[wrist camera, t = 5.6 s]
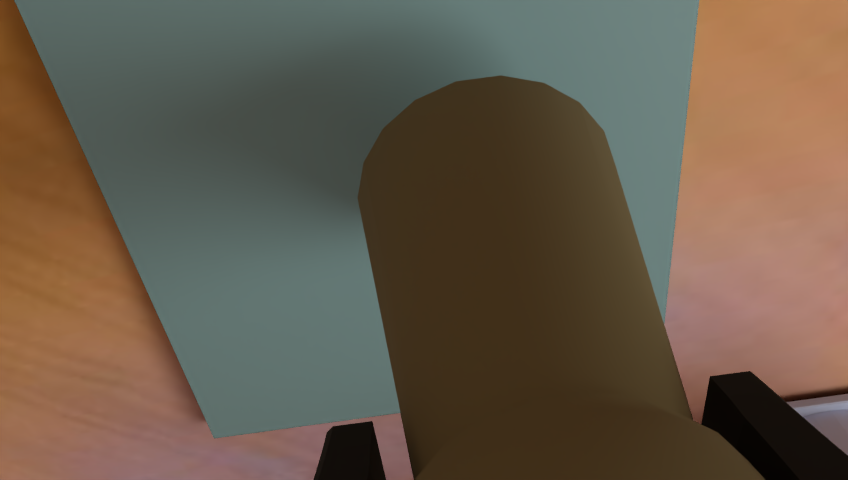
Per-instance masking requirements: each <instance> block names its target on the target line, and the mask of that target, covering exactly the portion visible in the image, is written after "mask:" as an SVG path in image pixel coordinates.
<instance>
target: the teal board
mask: <svg viewBox="0 0 848 480" xmlns="http://www.w3.org/2000/svg"><path fill="white" fill-rule="evenodd" d="M14 1H15V3H16V5H17V7H18V9H19V12H20V14H21V16H22V18H23V20H24V23H25V25H26V27H27V29H28V31H29V33H30V36H31V38H32V40H33V42H34V44H35V47H36V49H37V51H38V53H39V55H40V58H41V60H42V62H43V64H44V66H45V69H46V71H47V73H48V75H49V77H50V80H51V82H52V84H53V86H54V88H55V91H56V93H57V95H58V97H59V99H60V101H61V104H62V106H63V108H64V110H65V112H66V115H67V117H68V119H69V121H70V123H71V126H72V128H73V130H74V132H75V134H76V137H77V139H78V141H79V143H80V145H81V148H82V150H83V152H84V154H85V156H86V158H87V161H88V163H89V165H90V167H91V169H92V172H93V174H94V176H95V178H96V180H97V183H98V185H99V187H100V189H101V191H102V194H103V196H104V198H105V200H106V202H107V205H108V207H109V209H110V211H111V213H112V216H113V218H114V220H115V222H116V224H117V226H118V229H119V231H120V233H121V235H122V237H123V240H124V242H125V244H126V246H127V248H128V251H129V253H130V255H131V257H132V259H133V262H134V264H135V266H136V268H137V270H138V273H139V275H140V277H141V279H142V281H143V284H144V286H145V288H146V290H147V292H148V294H149V297H150V299H151V301H152V303H153V305H154V308H155V310H156V312H157V314H158V316H159V319H160V321H161V323H162V325H163V327H164V330H165V332H166V334H167V336H168V338H169V341H170V343H171V345H172V347H173V349H174V351H175V354H176V356H177V358H178V360H179V362H180V365H181V367H182V369H183V371H184V373H185V376H186V378H187V380H188V382H189V384H190V387H191V389H192V391H193V393H194V395H195V398H196V400H197V402H198V404H199V406H200V409H201V411H202V413H203V415H204V417H205V419H206V422H207V424H208V426H209V428H210V430H211V433H212V435H213V437H214V438H221V437H228V436H235V435H243V434H250V433H257V432H264V431H272V430H279V429H286V428H293V427H301V426H308V425H315V424H322V423H330V422H337V421H344V420H352V419H359V418H366V417H373V416H381V415H388V414H395V413H400V408H399V403H398V398H397V393H396V388H395V383H394V378H393V373H392V368H391V363H390V358H389V353H388V348H387V343H386V338H385V333H384V328H383V323H382V318H381V313H380V308H379V303H378V298H377V293H376V288H375V283H374V278H373V273H372V268H371V263H370V258H369V253H368V248H367V243H366V238H365V233H364V228H363V223H362V218H361V213H360V208H359V203H358V192H359V186H360V180H361V174H362V168H363V162H364V161H365V159H366V157H367V155H368V154H369V152H370V150H371V148H372V147H373V145H374V143H375V141H376V140H377V138H378V136H379V134H380V133H381V131H382V129H383V128H384V127H385V126H386V125H387V124H388V123H390V122H391V121H392V120H393V119H394V118H395V117H396V116H397V115H399V114H400V113H401V112H402V111H403V110H404V109H405V108H406V107H408V106H409V105H410V104H411V103H412V102H413V101H414V100H416V99H418V98H420V97H423V96H425V95H427V94H429V93H431V92H434V91H436V90H438V89H440V88H442V87H445V86H447V85H449V84H451V83H453V82H456V81H462V80H470V79H477V78H485V77H492V76H500V75H502V76H508V77H513V78H519V79H525V80H531V81H536V82H542V83H545V84H547V85H549V86H551V87H553V88H554V89H556V90H558V91H560V92H562V93H564V94H565V95H567V96H569V97H571V98H573V99H575V100H576V101H578V102H580V103H581V104H582V106H583V107H584V108H585V109H586V110H587V111H588V113H589V114H590V115H591V116H592V117H593V118H594V120H595V121H596V122H597V123H598V124H599V125H600V127H601V128H602V129H603V130H604V132H605V135H606V138H607V141H608V144H609V147H610V150H611V153H612V156H613V159H614V162H615V165H616V169H617V172H618V175H619V178H620V182H621V185H622V188H623V192H624V195H625V198H626V201H627V205H628V208H629V211H630V214H631V218H632V221H633V224H634V228H635V231H636V234H637V237H638V241H639V244H640V247H641V251H642V254H643V257H644V260H645V264H646V267H647V270H648V273H649V277H650V280H651V283H652V287H653V290H654V293H655V296H656V300H657V303H658V306H659V309H660V313H661V316H662V319H663V323H664V322H665V313H666V303H667V294H668V285H669V275H670V266H671V257H672V247H673V238H674V229H675V220H676V210H677V201H678V192H679V182H680V173H681V164H682V154H683V145H684V136H685V126H686V117H687V108H688V98H689V89H690V80H691V71H692V61H693V52H694V43H695V33H696V24H697V15H698V5H699V0H14Z"/></svg>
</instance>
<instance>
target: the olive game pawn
mask: <svg viewBox="0 0 848 480" xmlns="http://www.w3.org/2000/svg"><path fill="white" fill-rule="evenodd" d="M358 203H359V208H360V213H361V218H362V223H363V228H364V233H365V238H366V243H367V248H368V253H369V258H370V263H371V268H372V273H373V278H374V283H375V288H376V293H377V298H378V303H379V308H380V313H381V318H382V323H383V328H384V333H385V338H386V343H387V348H388V353H389V358H390V363H391V368H392V373H393V378H394V383H395V388H396V393H397V398H398V403H399V408H400V413H401V418H402V423H403V428H404V433H405V438H406V443H407V448H408V453H409V457H410V462H411V467H412V472H413V477H414V480H765V479H764V478H763V476H762V475H761V474H760V473H759V472H758V471H757V470H756V469H755V468H754V467H753V466H752V465H751V463H750V462H749V461H748V460H747V459H746V458H745V457H744V456H743V455H741V454H740V453H739V452H738V451H737V450H736V449H735V448H734V447H733V446H732V445H731V444H730V443H729V442H728V441H726V440H725V439H724V438H723V437H722V436H721V435H720V434H719V433H718V432H716V431H714V430H712V429H710V428H708V427H706V426H703V425H701V424H699V423H697V422H695V421H693V418H692V414H691V411H690V408H689V404H688V401H687V398H686V395H685V391H684V388H683V385H682V382H681V378H680V375H679V372H678V368H677V365H676V362H675V359H674V355H673V352H672V349H671V346H670V342H669V339H668V336H667V332H666V329H665V326H664V323H663V319H662V316H661V313H660V309H659V306H658V303H657V300H656V296H655V293H654V290H653V287H652V283H651V280H650V277H649V273H648V270H647V267H646V264H645V260H644V257H643V254H642V251H641V247H640V244H639V241H638V237H637V234H636V231H635V228H634V224H633V221H632V218H631V214H630V211H629V208H628V205H627V201H626V198H625V195H624V192H623V188H622V185H621V182H620V178H619V175H618V172H617V169H616V165H615V162H614V159H613V156H612V153H611V150H610V147H609V144H608V141H607V138H606V135H605V132H604V130H603V129H602V128H601V127H600V125H599V124H598V123H597V122H596V121H595V120H594V118H593V117H592V116H591V115H590V114H589V113H588V111H587V110H586V109H585V108H584V107H583V106H582V104H581V103H580V102H578V101H576V100H575V99H573V98H571V97H569V96H567V95H565V94H564V93H562V92H560V91H558V90H556V89H554V88H553V87H551V86H549V85H547V84H545V83H542V82H536V81H531V80H525V79H519V78H513V77H508V76H502V75H500V76H492V77H485V78H477V79H470V80H462V81H456V82H453V83H451V84H449V85H447V86H445V87H442V88H440V89H438V90H436V91H434V92H431V93H429V94H427V95H425V96H423V97H420V98H418V99H416V100H414V101H413V102H412V103H411V104H410V105H409V106H408V107H406V108H405V109H404V110H403V111H402V112H401V113H400V114H399V115H397V116H396V117H395V118H394V119H393V120H392V121H391V122H390V123H388V124H387V125H386V126H385V127H384V128H383V129H382V131H381V133H380V134H379V136H378V138H377V140H376V141H375V143H374V145H373V147H372V148H371V150H370V152H369V154H368V155H367V157H366V159H365V161H364V162H363V168H362V174H361V180H360V186H359V192H358Z"/></svg>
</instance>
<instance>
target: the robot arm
mask: <svg viewBox="0 0 848 480" xmlns="http://www.w3.org/2000/svg"><path fill="white" fill-rule="evenodd" d="M701 425H703V426H706V427H708V428H710V429H712V430H714V431H716V432H718V433H719V434H720V435H721V436H722V437H723V438H724V439H725V440H726V441H728V442H729V443H730V444H731V445H732V446H733V447H734V448H735V449H736V450H737V451H738V452H739V453H740V454H741V455H743V456H744V457H745V458H746V459H747V460H748V461H749V462H750V463H751V465H752V466H753V467H754V468H755V469H756V470H757V471H758V472H759V473H760V474H761V475H762V476H763V478H764V479H765V480H848V394H842V395H835V396H828V397H820V398H813V399H806V400H798V401H791V402H785V401H784V400H783V399H782V398H781V397H780V396H778V395H777V394H776V393H775V392H774V391H773V390H772V389H770V388H769V387H768V386H767V385H766V384H765V383H763V382H762V381H761V380H760V379H759V378H758V377H756V376H755V375H754V374H753V373H752V372H750V371H748V372H740V373H733V374H725V375H717V376H710V379H709V385H708V391H707V396H706V402H705V407H704V413H703V418H702V424H701ZM314 480H386V478H385V473H384V469H383V465H382V461H381V456H380V452H379V448H378V444H377V439H376V435H375V431H374V427H373V422H372V421H371V422H363V423H355V424H348V425H340V426H333V427H332V428H331V429H330V430H329V431H328V432H327V434H326V438H325V442H324V446H323V450H322V454H321V457H320V460H319V464H318V467H317V470H316V474H315V477H314Z"/></svg>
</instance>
